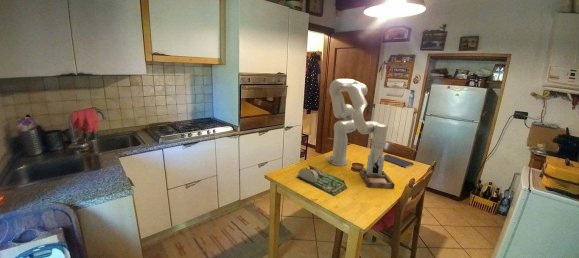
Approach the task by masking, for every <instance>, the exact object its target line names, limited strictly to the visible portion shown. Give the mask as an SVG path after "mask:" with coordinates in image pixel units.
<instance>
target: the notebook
mask: <svg viewBox="0 0 579 258" xmlns="http://www.w3.org/2000/svg"><path fill="white" fill-rule="evenodd" d="M383 156H384V162H386V163H387V162H388V163H390V164H393V165H395V166H397V167H401V168H404V169H406V168H408V167H411V166H412V165H414V162H412V161H408V160H406V159H403V158H400V157H397V156H393V155H390V154H388V153H387V154H385V155H383Z"/></svg>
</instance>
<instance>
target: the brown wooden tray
mask: <svg viewBox="0 0 579 258" xmlns="http://www.w3.org/2000/svg"><path fill="white" fill-rule="evenodd" d="M359 175H360V177H361V178H362V181H364V183H365V184H366V186H367V188H378V189H395V186H396V185H395V183H394V182H393V180H392V179H391V178H390V177H389V176H388V174H386V172H385V171H384V170H382V175H370V174H366V169H360V170H359ZM368 178H382V179H385V180H386V181H387V183H383V182H370V181H369V179H368Z"/></svg>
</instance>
